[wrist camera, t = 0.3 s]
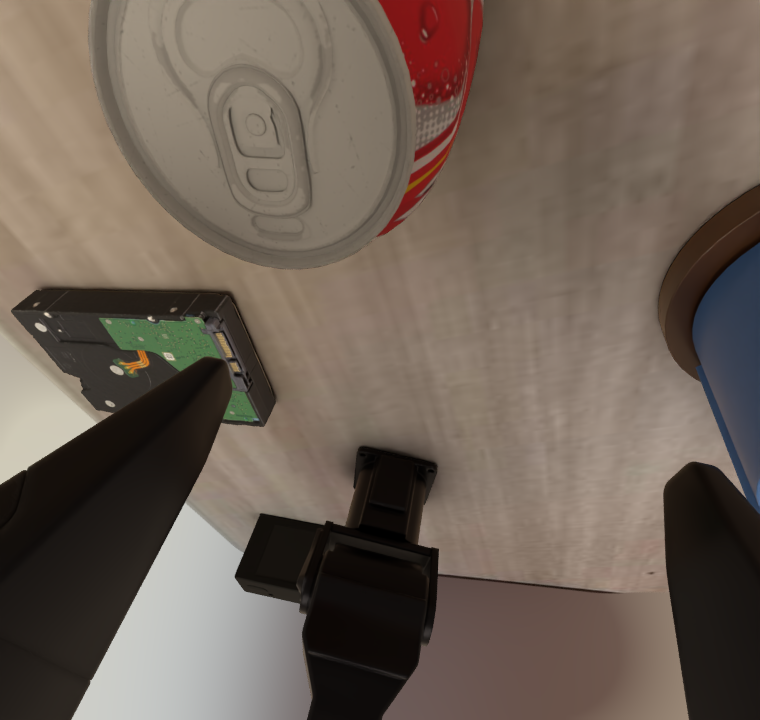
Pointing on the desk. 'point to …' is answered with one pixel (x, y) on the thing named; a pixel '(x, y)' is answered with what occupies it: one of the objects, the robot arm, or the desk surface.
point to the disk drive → (145, 344)
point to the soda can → (285, 114)
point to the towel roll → (734, 363)
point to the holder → (704, 272)
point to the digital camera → (276, 557)
